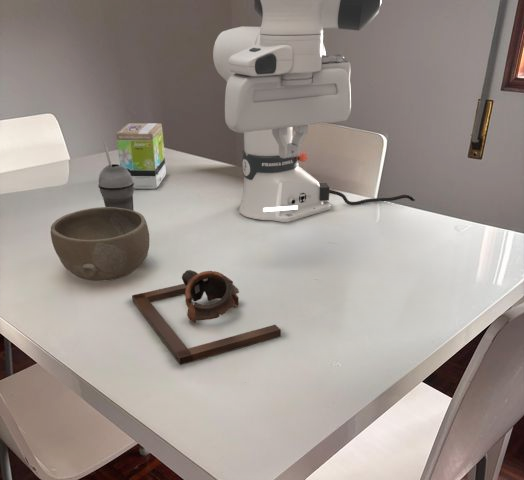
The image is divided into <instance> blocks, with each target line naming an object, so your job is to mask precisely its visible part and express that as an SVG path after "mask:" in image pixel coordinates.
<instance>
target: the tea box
mask: <svg viewBox="0 0 524 480" xmlns="http://www.w3.org/2000/svg"><path fill="white" fill-rule="evenodd" d="M115 134H116V144H117V151H118V160H119V165H121V166H123V167H124V168H126V169H127V170H128V171H129V173H130V174H131V177H132V180H133V183H134V185H133V187H134V190H144V189H145V190H154V189H155V190H157V189H158V187H159V186H160V185H161V183H162V181H163V180H164V178H165V177H166V176H167V168H166V167H167V166H166V155H165V144H164V143H165V142H164V131H163V124H162V123H161V122H159V123H158V122H157V123H152V122H151V123H149V122H148V123H147V122H145V123H144V122H143V123H141V122H139V123H137V122H135V123H134V122H130V123H129V122H128V123H127V124H126V125H124V126H123V127H122V128H121V129H120V130H118V131H117V132H116V133H115Z"/></svg>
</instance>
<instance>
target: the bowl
mask: <svg viewBox="0 0 524 480" xmlns="http://www.w3.org/2000/svg"><path fill="white" fill-rule="evenodd" d="M50 238H51V243H52V246H53V249H54V251H55V254H56V255H57V257H58V259H59V261H60V263H61V265H62V266H63V267H64V268H65V269H66V270H67V271H68V272H69V273H70V274H72V275H74V276H76V277H77V278H79V279H82V280H85V281H91V282H103V281H114V280H117V279H122V278H125V277H128V276H129V275H131V274H133V273H134V272H135V271H137V270H138V269H139V268H141V266H142V265H143V264H144V263H145V261H146V258H147V256H148V253H149V251H150V231H149V228H148V222H147V219H146V218H145V215H143V214H141V213H140V212H138V211H136V210H134V211H133V210H130V209H124V208H117V207H105V206H101V207H100V206H98V207H93V208H85V209H80V210H76V211H73V212H70V213H68V214H65V215H62V216H61V217H59V218H58V219H56V220H55V221H54V222H53V223H52V224H51V226H50Z"/></svg>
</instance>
